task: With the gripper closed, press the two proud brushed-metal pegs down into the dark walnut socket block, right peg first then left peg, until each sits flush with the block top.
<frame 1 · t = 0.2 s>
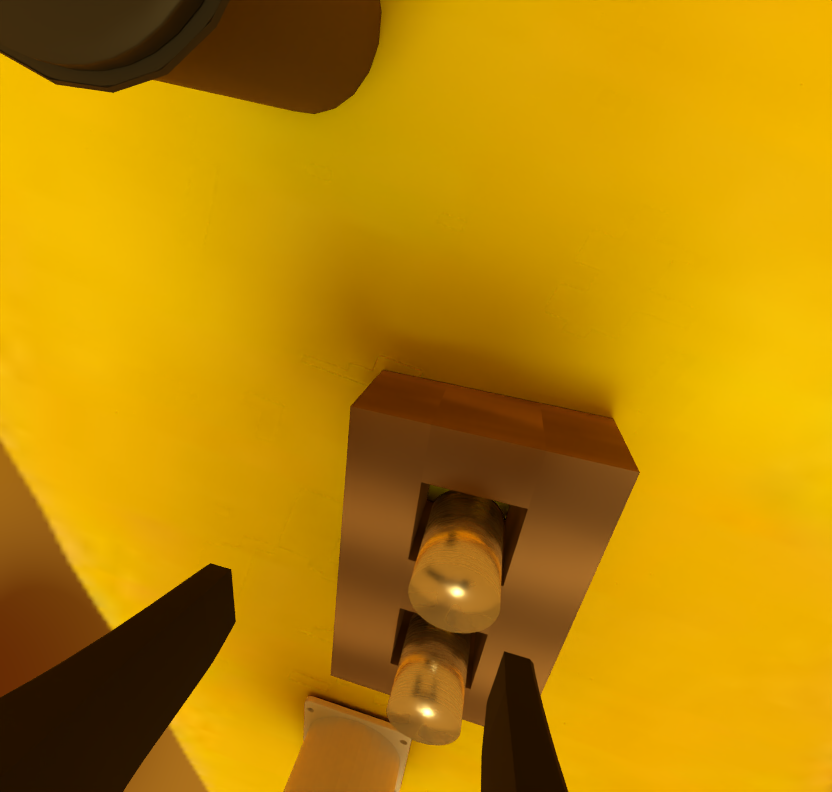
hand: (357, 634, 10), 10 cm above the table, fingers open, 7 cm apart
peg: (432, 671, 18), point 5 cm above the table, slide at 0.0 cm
coffee cup: (308, 23, 14), on the table
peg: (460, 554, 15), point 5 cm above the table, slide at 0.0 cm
socket block: (460, 533, 21), on the table
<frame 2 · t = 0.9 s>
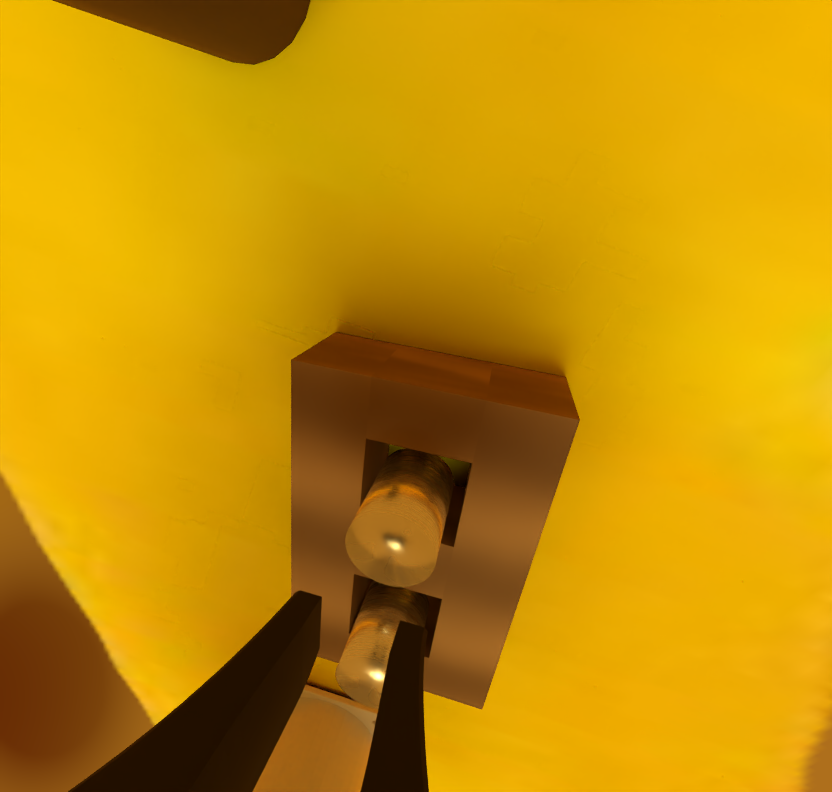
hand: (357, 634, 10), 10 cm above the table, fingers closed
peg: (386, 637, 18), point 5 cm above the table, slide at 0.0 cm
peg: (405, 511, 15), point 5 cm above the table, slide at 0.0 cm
socket block: (421, 502, 21), on the table
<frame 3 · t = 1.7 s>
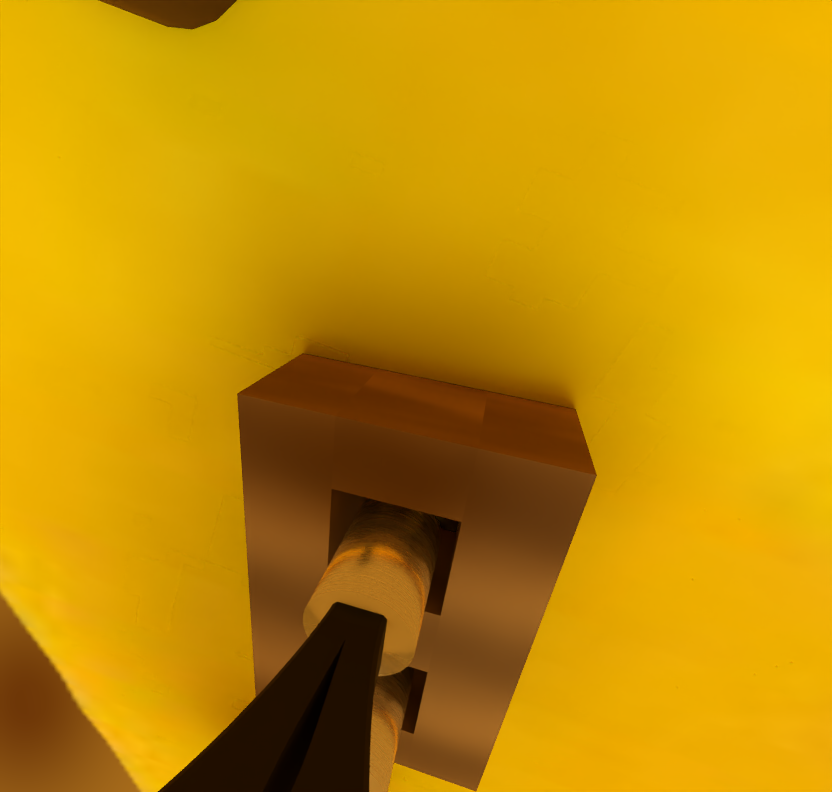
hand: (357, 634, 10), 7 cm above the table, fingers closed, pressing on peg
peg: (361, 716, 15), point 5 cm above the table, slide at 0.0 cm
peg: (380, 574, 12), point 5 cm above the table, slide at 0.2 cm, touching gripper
socket block: (405, 546, 18), on the table
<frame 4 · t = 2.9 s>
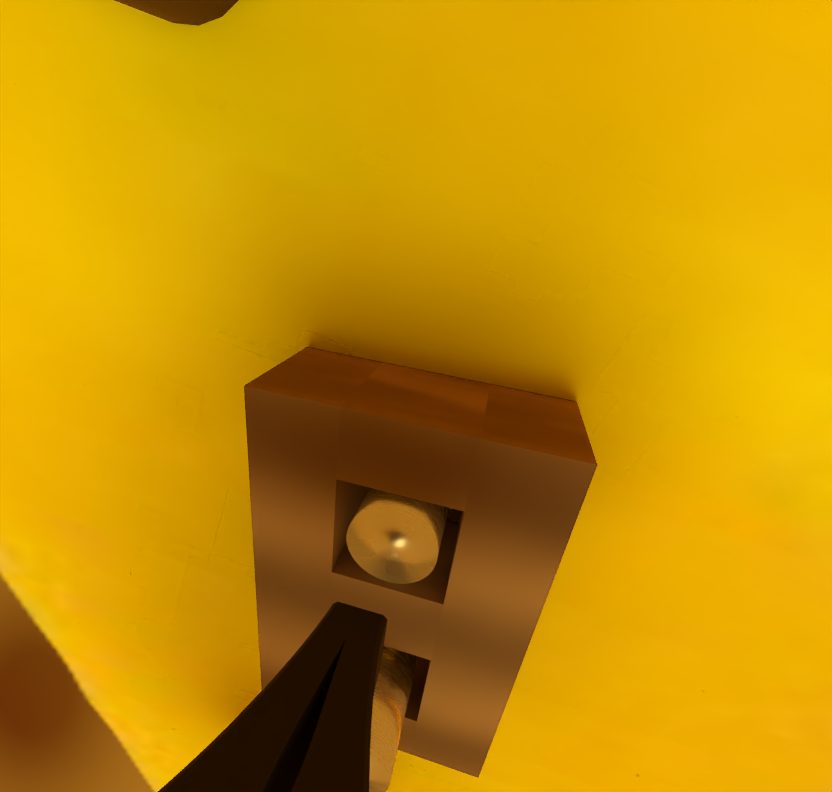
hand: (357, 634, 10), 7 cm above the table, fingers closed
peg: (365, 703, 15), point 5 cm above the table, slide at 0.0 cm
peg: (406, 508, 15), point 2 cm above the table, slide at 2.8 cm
socket block: (408, 538, 18), on the table
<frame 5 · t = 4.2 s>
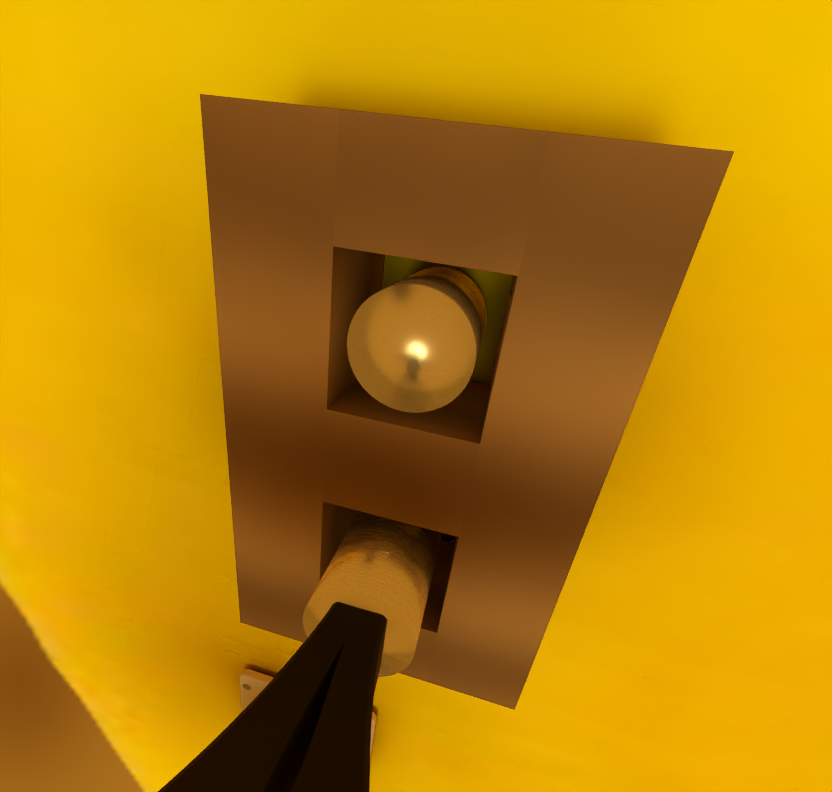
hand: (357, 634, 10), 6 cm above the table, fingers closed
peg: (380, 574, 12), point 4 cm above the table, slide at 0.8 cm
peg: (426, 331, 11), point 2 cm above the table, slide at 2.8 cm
socket block: (424, 412, 14), on the table
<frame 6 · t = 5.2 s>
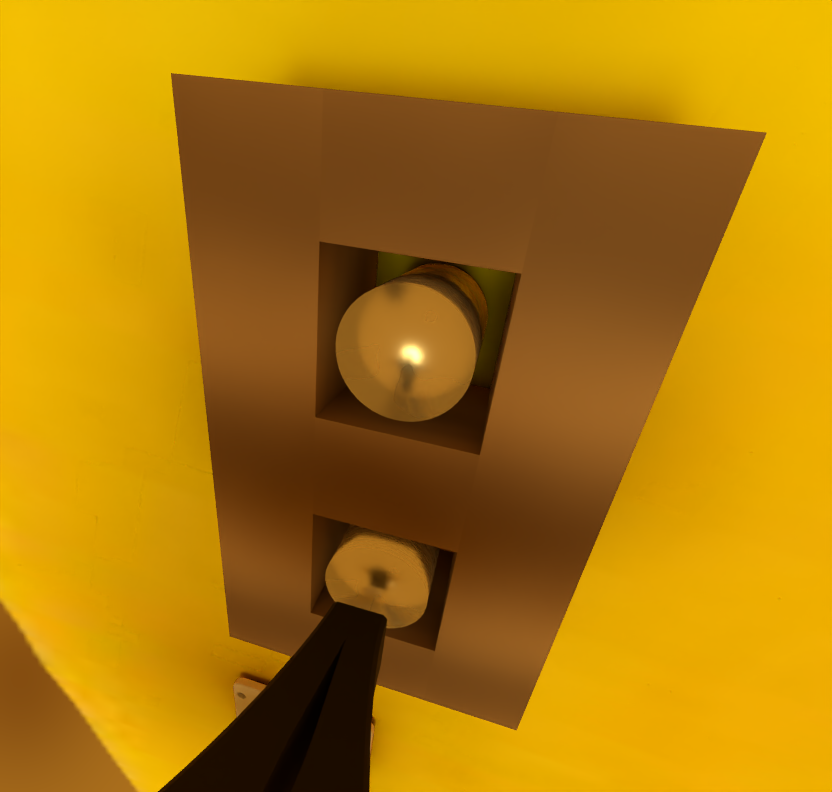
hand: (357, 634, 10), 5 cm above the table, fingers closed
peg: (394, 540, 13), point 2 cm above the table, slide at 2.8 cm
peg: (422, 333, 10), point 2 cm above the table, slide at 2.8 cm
socket block: (422, 417, 14), on the table
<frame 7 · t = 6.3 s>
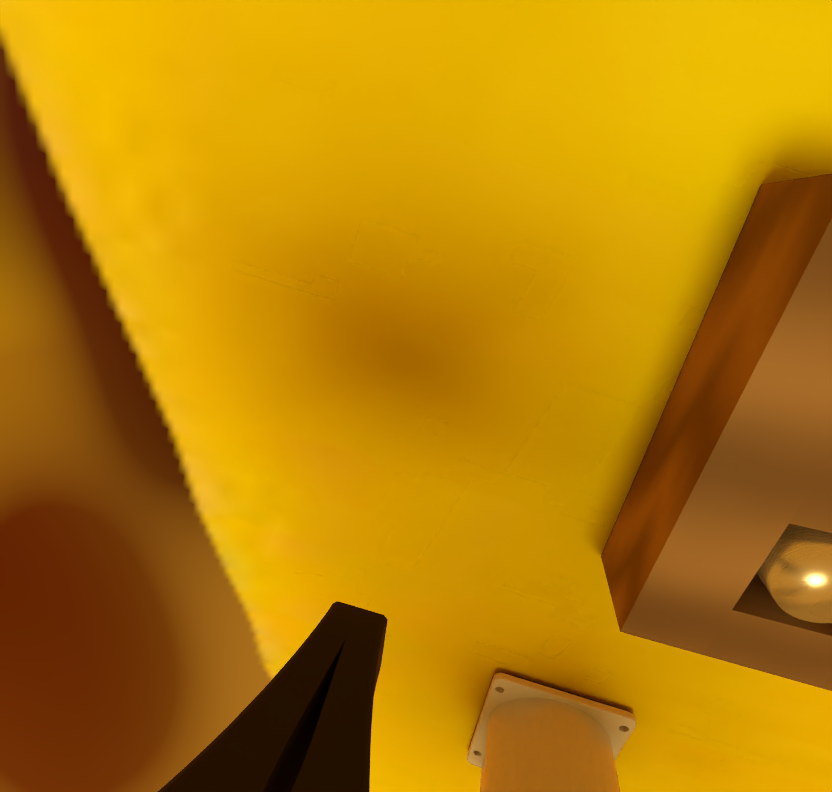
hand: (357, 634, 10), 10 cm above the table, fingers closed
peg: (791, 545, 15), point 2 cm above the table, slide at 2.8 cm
socket block: (804, 436, 15), on the table
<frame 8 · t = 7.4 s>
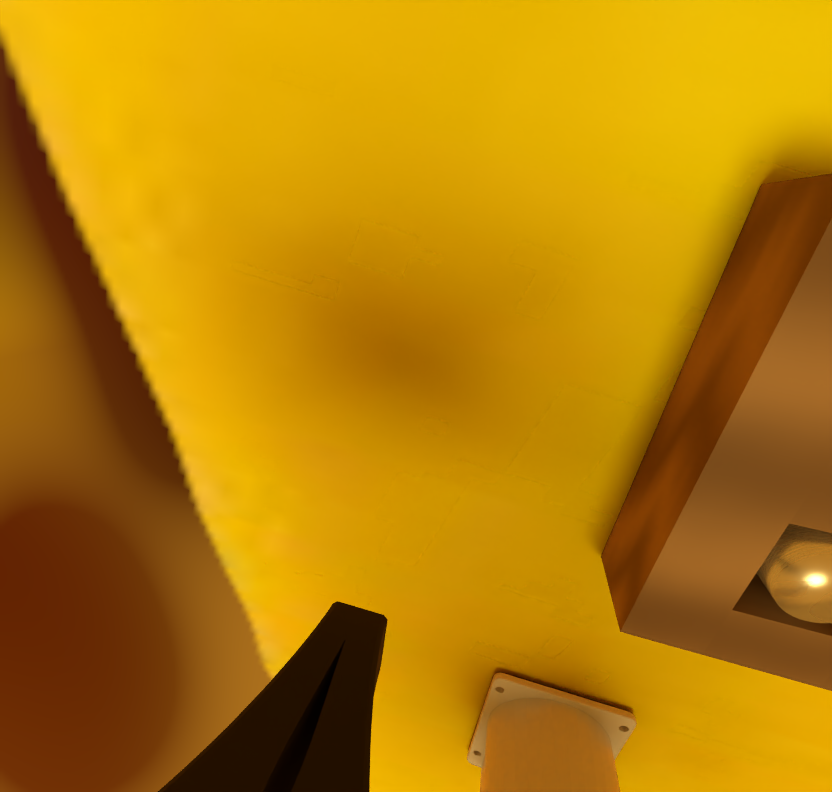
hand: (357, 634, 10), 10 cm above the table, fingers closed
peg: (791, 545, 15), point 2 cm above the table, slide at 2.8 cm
socket block: (804, 436, 15), on the table
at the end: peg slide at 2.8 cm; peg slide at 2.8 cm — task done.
